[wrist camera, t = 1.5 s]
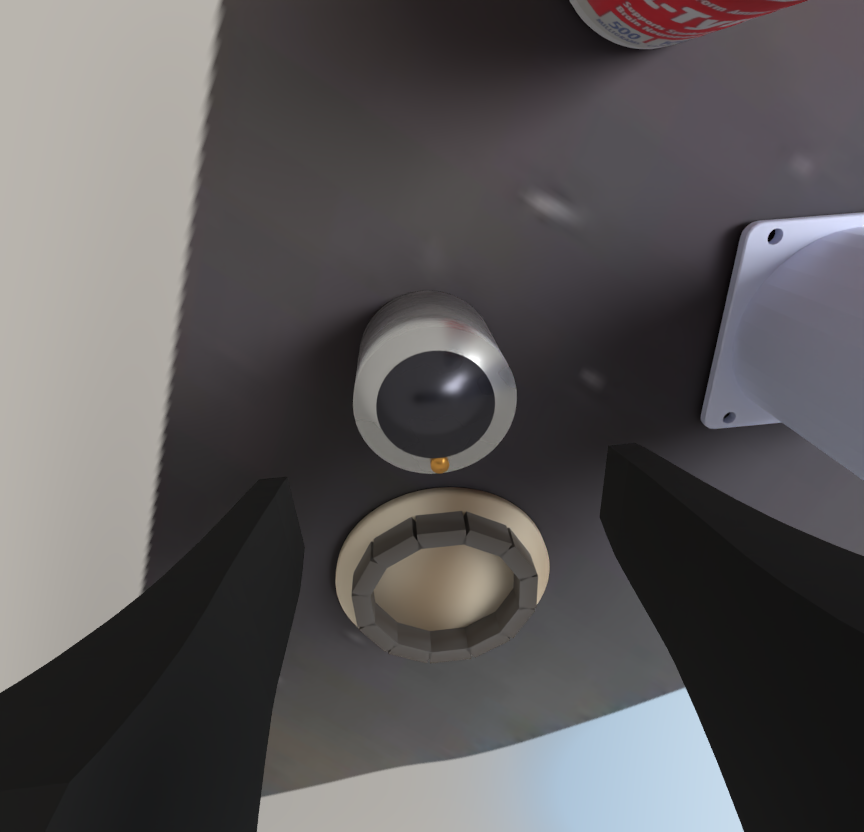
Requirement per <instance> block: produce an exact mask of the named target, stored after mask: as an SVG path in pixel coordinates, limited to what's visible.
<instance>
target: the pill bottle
mask: <svg viewBox="0 0 864 832" xmlns="http://www.w3.org/2000/svg"><path fill="white" fill-rule="evenodd" d="M569 1H570V3H571V4H572V6H573V7H574V9H575V11H576V12H577V13H578V15H579V16H580V17H581V19H582V20H583V21H584V22H585V23H586V24H587V25H588V26H589V27H590V28H591V29H593V30H594V31H595V32H597V33H598V34H599V35H601V36H602V37H604V38H606V39H608V40H609V41H611V42H613V43H616V44H619V45H622V46H625V47H629V48H635V49H655V48H662V47H666V46H671V45H675V44H679V43H682V42H686V41H689V40H692V39H694V38H697V37H701V36H704V35H706V34H710V33H712V32H715V31H718V30H721V29H724V28H727V27H731V26H733V25H736V24H739V23H742V22H745V21H748V20H751V19H753V18H757V17H759V16H762V15H765V14H769V13H772V12H775V11H778V10H781V9H783V8H786V7H789V6H792V5H795V4H799V3H802V2H804V1H807V0H569Z"/></svg>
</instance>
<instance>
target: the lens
mask: <svg viewBox="0 0 864 832" xmlns="http://www.w3.org/2000/svg"><path fill="white" fill-rule="evenodd" d="M516 403H517V391H516V385H515V380H514V377H513V374H512V371H511V369H510V367H509V366H508V364H507V362H506V360H505V358H504V356H503V354H502V353H501V351H500V349H499V347H498V345H497V343H496V341H495V340H494V338H493V336H492V334H491V332H490V330H489V329H488V327H487V325H486V323H485V321H484V320H483V318H482V317H481V315H480V314H479V313H478V312H477V311H476V310H475V309H474V308H473V307H472V306H471V305H469V304H468V303H467V302H465V301H464V300H462V299H460V298H458V297H456V296H453V295H451V294H448V293H444V292H439V291H417V292H411V293H408V294H405V295H402V296H400V297H397V298H395V299H393V300H392V301H390V302H388V303H387V304H386V305H384V306H383V307H382V308H381V309H380V310H379V311H378V312H377V313H376V314H375V315H374V316H373V317H372V319H371V320H370V321H369V323H368V325H367V327H366V329H365V330H364V333H363V336H362V339H361V344H360V349H359V357H358V364H357V372H356V379H355V386H354V394H353V412H354V417H355V422H356V425H357V427H358V430H359V432H360V434H361V436H362V437H363V439H364V441H365V442H366V443H367V445H368V446H369V447H370V448H371V449H372V450H373V451H374V452H375V453H376V454H377V455H378V456H380V457H381V458H382V459H384V460H385V461H387V462H389V463H390V464H392V465H394V466H397V467H399V468H401V469H405V470H408V471H412V472H417V473H427V474H435V473H445V472H451V471H455V470H459V469H462V468H464V467H467V466H469V465H471V464H473V463H475V462H477V461H479V460H480V459H482V458H483V457H485V456H486V455H487V454H489V453H490V452H491V451H492V450H493V449H494V448H495V447H496V446H497V445H498V444H499V443H500V442H501V440H502V439H503V438H504V436H505V435H506V433H507V431H508V430H509V428H510V426H511V423H512V421H513V418H514V414H515V410H516Z"/></svg>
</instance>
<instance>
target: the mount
mask: <svg viewBox="0 0 864 832" xmlns="http://www.w3.org/2000/svg"><path fill="white" fill-rule="evenodd" d="M549 571H550V568H549V557H548V552H547V549H546V546H545V543H544V541H543V538H542V536H541V533H540V531H539V530H538V528H537V526H536V525H535V523H534V522H533V521H532V520H531V519H530V517H529V516H528V515H527V514H526V513H525V512H523V511H522V510H521V509H520V508H519V507H517V506H516V505H514V504H512V503H511V502H509V501H507V500H506V499H503V498H501V497H499V496H497V495H494V494H491V493H488V492H484V491H481V490H475V489H470V488H459V487H441V488H431V489H425V490H420V491H416V492H412V493H408V494H405V495H402V496H400V497H397V498H395V499H392V500H390V501H388V502H386V503H384V504H383V505H381V506H379V507H378V508H376V509H375V510H373V511H372V512H370V513H369V514H368V515H366V516H365V517H364V518H363V519H362V520H361V521H360V522H359V523H358V524H357V525H356V526H355V527H354V528H353V529H352V531H351V532H350V533H349V535H348V537H347V538H346V540H345V541H344V543H343V546H342V548H341V550H340V553H339V557H338V561H337V568H336V580H335V584H336V592H337V596H338V599H339V602H340V604H341V606H342V608H343V610H344V612H345V613H346V615H347V616H348V617H349V619H350V620H351V621H352V622H353V623H354V624H355V625H356V626H357V627H358V628H359V630H360V631H361V632H362V633H363V634H365V635H366V636H367V637H368V638H369V639H370V640H372V641H373V642H374V643H375V644H376V645H378V646H379V647H380V648H381V649H382V650H383V651H385V652H387V651H388V654H392V655H396V656H400V657H404V658H408V659H412V660H416V661H420V662H424V663H427V662H428V660H429V659H430V663H438V662H447V661H456V660H466V659H471V655H473V656H474V657H475V658H476V657H478V656H480V655H482V654H484V653H486V652H488V651H490V650H492V649H494V648H496V647H498V646H500V645H502V644H504V643H506V642H508V641H510V637H511V638H514V637H515V635H516V634H517V633H518V632H519V630H520V629H521V628H522V627H523V625H524V624H525V623H526V622H527V621H528V619H529V618H530V617H531V616H532V614H533V613H534V612H535V609H534V608H536V607H537V603H538V602H539V601H540V599H541V597H542V595H543V593H544V591H545V588H546V585H547V582H548V577H549Z"/></svg>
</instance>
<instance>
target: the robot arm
mask: <svg viewBox="0 0 864 832" xmlns="http://www.w3.org/2000/svg"><path fill="white" fill-rule="evenodd" d="M774 229H775V235H774V238H773V239H772V240H771V241H770V242H768V235H769V233H770V232H771V231H772V230H774ZM729 412H730V414H729V416H727V417H726V418H724V416H725V415H726V414H727V413H729ZM723 418H724V419H723ZM701 421H702V423H703V424H704V425H705V426H706V427H708V428H710V429H720V428H730V427H741V426H751V425H762V424H772V423H783V424H785V425H786V426H788V427H789V428H790V429H792V430H793V431H795V432H796V433H797V434H799V435H800V436H802V437H803V438H804V439H806V440H807V441H809V442H810V443H811V444H813V445H814V446H816V447H817V448H818V449H820V450H821V451H823V452H824V453H825V454H827V455H828V456H830V457H831V458H832V459H834V460H835V461H837V462H838V463H839V464H841V465H842V466H844V467H845V468H846V469H848V470H849V471H851V472H852V473H853V474H855V475H856V476H858V477H859V478H861V479H862V480H863V481H864V212H859V213H847V214H834V215H822V216H809V217H797V218H785V219H772V220H760V221H755V222H752V223H750V224H749V225H748V226H746V228H745V229H744V230H743V231H742V234H741V236H740V240H739V245H738V249H737V254H736V258H735V263H734V267H733V272H732V277H731V281H730V286H729V290H728V295H727V299H726V304H725V308H724V313H723V317H722V322H721V326H720V331H719V335H718V340H717V344H716V349H715V354H714V358H713V363H712V367H711V372H710V376H709V381H708V385H707V390H706V394H705V399H704V403H703V408H702V412H701ZM600 519H601V522H602V524H603V527H604V529H605V532H606V535H607V537H608V540H609V542H610V545H611V547H612V549H613V552H614V554H615V556H616V558H617V560H618V562H619V564H620V566H621V567H622V569H623V571H624V573H625V575H626V576H627V578H628V580H629V582H630V584H631V585H632V587H633V589H634V591H635V592H636V594H637V596H638V598H639V599H640V601H641V603H642V605H643V606H644V608H645V610H646V612H647V613H648V615H649V617H650V619H651V620H652V622H653V624H654V626H655V627H656V629H657V631H658V633H659V634H660V636H661V638H662V640H663V641H664V643H665V645H666V647H667V649H668V651H669V653H670V655H671V657H672V659H673V661H674V663H675V665H676V667H677V669H678V671H679V674H680V676H681V678H682V680H683V683H684V685H685V687H686V689H687V692H688V694H689V696H690V698H691V701H692V703H693V705H694V707H695V710H696V712H697V714H698V717H699V719H700V722H701V724H702V726H703V729H704V731H705V734H706V736H707V738H708V741H709V743H710V746H711V748H712V750H713V753H714V755H715V757H716V760H717V763H718V765H719V767H720V770H721V773H722V775H723V778H724V780H725V783H726V786H727V788H728V791H729V793H730V796H731V799H732V801H733V804H734V806H735V809H736V811H737V814H738V817H739V819H740V822H741V824H742V827H743V830H744V832H864V556H862V555H859V554H856V553H853V552H851V551H848V550H846V549H843V548H841V547H838V546H835V545H833V544H830V543H828V542H826V541H823V540H821V539H819V538H816V537H814V536H812V535H809V534H807V533H805V532H802V531H800V530H798V529H795V528H793V527H791V526H789V525H786V524H784V523H782V522H780V521H778V520H776V519H774V518H772V517H769V516H767V515H766V514H764V513H762V512H760V511H758V510H756V509H754V508H752V507H750V506H748V505H746V504H744V503H742V502H740V501H738V500H736V499H734V498H732V497H730V496H729V495H727V494H725V493H723V492H721V491H719V490H718V489H716V488H714V487H712V486H710V485H709V484H707V483H705V482H703V481H702V480H700V479H698V478H696V477H695V476H693V475H691V474H689V473H688V472H686V471H684V470H682V469H681V468H679V467H677V466H676V465H674V464H672V463H670V462H669V461H667V460H665V459H664V458H662V457H660V456H658V455H657V454H655V453H653V452H651V451H649V450H648V449H646V448H644V447H642V446H640V445H638V444H636V443H632V444H622V445H611V446H608V453H607V461H606V470H605V478H604V486H603V494H602V502H601V510H600ZM304 548H305V547H304V543H303V539H302V535H301V531H300V527H299V523H298V519H297V515H296V511H295V507H294V503H293V499H292V495H291V491H290V487H289V483H288V478H287V477H282V478H272V479H262V480H259V481H258V482H257V483H256V484H255V485H254V486H253V487H252V488H251V489H250V490H249V491H248V492H247V493H246V494H245V495H244V496H243V497H242V498H241V499H240V500H239V501H238V503H237V504H236V505H235V506H234V507H233V508H232V509H231V510H230V511H229V512H228V513H227V514H226V515H225V516H224V517H223V518H222V519H221V520H220V521H219V522H218V524H217V525H216V526H215V527H214V528H213V529H212V530H211V531H210V532H209V533H208V534H207V535H206V536H205V537H204V538H203V539H202V540H201V541H200V542H199V543H198V544H197V545H196V546H195V547H194V548H193V549H191V550H190V551H189V552H188V553H187V554H186V555H185V556H184V557H183V558H182V559H181V560H180V561H179V562H178V563H177V564H175V565H174V566H173V567H172V568H171V569H170V570H169V571H168V572H167V573H166V574H165V575H164V576H163V577H161V578H160V579H159V580H158V581H157V582H156V583H155V584H153V585H152V586H151V587H150V588H149V589H147V590H146V591H145V592H144V593H143V594H142V595H140V596H139V597H138V598H136V599H135V600H134V601H133V602H132V603H130V604H129V605H128V606H126V607H125V608H124V609H123V610H121V611H120V612H119V613H118V614H116V615H115V616H114V617H112V618H111V619H110V620H108V621H107V622H106V623H104V624H103V625H102V626H100V627H99V628H97V629H96V630H94V631H93V632H92V633H90V634H89V635H87V636H86V637H85V638H83V639H82V640H80V641H79V642H78V643H76V644H75V645H73V646H72V647H70V648H69V649H68V650H66V651H65V652H63V653H62V654H61V655H59V656H58V657H56V658H55V659H53V660H52V661H50V662H49V663H47V664H46V665H44V666H43V667H41V668H39V669H38V670H36V671H35V672H33V673H32V674H30V675H29V676H27V677H25V678H24V679H22V680H21V681H19V682H18V683H16V684H14V685H13V686H11V687H9V688H8V689H6V690H5V691H3V692H1V693H0V832H257V824H258V814H259V806H260V798H261V790H262V782H263V774H264V766H265V758H266V751H267V744H268V736H269V729H270V722H271V715H272V708H273V703H274V698H275V693H276V688H277V684H278V680H279V676H280V671H281V667H282V663H283V659H284V655H285V651H286V647H287V643H288V638H289V634H290V630H291V626H292V622H293V618H294V613H295V609H296V605H297V601H298V596H299V592H300V586H301V578H302V569H303V558H304Z"/></svg>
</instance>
